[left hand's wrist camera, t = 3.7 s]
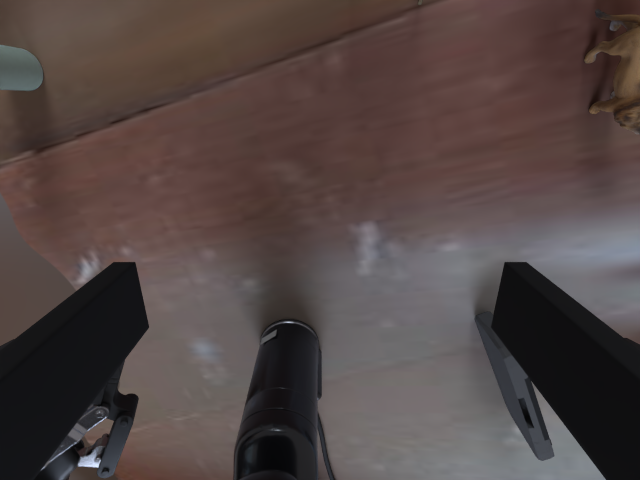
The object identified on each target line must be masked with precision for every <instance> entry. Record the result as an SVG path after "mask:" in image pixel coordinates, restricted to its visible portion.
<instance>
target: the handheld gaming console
mask: <svg viewBox="0 0 640 480" xmlns="http://www.w3.org/2000/svg"><path fill="white" fill-rule="evenodd" d="M492 320H493V314H492V313H491V312H485V313H482V314H479V315H477V316H476V317H475V321H476V324H477V327H478V330H479V333H480V335H481V338H482V341H483V344H484V346H485V349H486V352H487V354H488V357H489V360H490V363H491V365H492V368H493V371H494V373H495V376H496V379H497V382H498V384H499V387H500V390H501V393H502V395H503V398H504V401H505V403H506V406H507V408H508V410H509V412H510V414H511V416H512V418H513V420H514V421H515V423H516V425H517V426H518V428H519V430H520V431H521V433H522V434H523V436H524V438H525V439H526V441H527V443H528V444H529V446H530V448H531V449H532V451H533V453H534V454H535V456H536V457H537V458H538V459H539V460H541V461H543V460H547V459H550V458H552V457H554V452H553V449H552V443H551V440H550V438H549V435H548V432H547V429H546V426H545V423H544V420H543V417H542V414H541V411H540V407H539V404H538V401H537V398H536V395H535V392H534V389H533V386H532V383H531V380H530V378H529V377H528V376H527V374H526V373H525V372H524V370H523V369H522V368H521V366H520V365H519V364H518V363H517V361H516V360H515V359H514V357H513V356H512V355H511V353H510V352H509V351H508V349H507V348H506V347H505V345H504V344H503V343H502V341H501V340H500V339H499V337H498V336H497V335H496V333H495V332H494V331H493V329H492V328H491V324H492Z"/></svg>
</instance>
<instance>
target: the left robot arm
mask: <svg viewBox="0 0 640 480" xmlns="http://www.w3.org/2000/svg"><path fill="white" fill-rule="evenodd" d="M148 328H149V324H148V320H147V315H146V310H145V306H144V301H143V296H142V292H141V287H140V282H139V278H138V273H137V268H136V263H135V262H113V263H112V264H111V265H109V266H108V267H107V268H106V269H104V270H103V271H102V272H100V273H99V274H98V275H97V276H95V277H94V278H93V279H91V280H90V281H89V282H88V283H86V284H85V285H84V286H83V287H81V288H80V289H79V290H77V291H76V292H75V293H74V294H72V295H71V296H70V297H68V298H67V299H66V300H65V301H63V302H62V303H61V304H59V305H58V306H57V307H56V308H54V309H53V310H52V311H50V312H49V313H48V314H47V315H45V316H44V317H43V318H41V319H40V320H39V321H38V322H36V323H35V324H34V325H32V326H31V327H30V328H29V329H27V330H26V331H25V332H23V333H22V334H21V335H20V336H18V337H17V338H16V339H13V340H11V341H9V342H7V343H5V344H4V345H2V346H0V480H34V479H35V477H36V476H37V475H38V474H39V472H40V471H41V470H42V468H43V467H44V466H45V464H46V463H47V462H48V460H49V459H50V458H51V456H52V455H53V454H54V452H55V451H56V450H57V448H58V447H59V446H60V444H61V443H62V442H63V440H64V439H65V438H66V437H67V435H68V434H69V433H70V431H71V430H72V429H73V427H74V426H75V425H76V423H77V422H78V421H79V419H80V418H81V417H82V415H83V414H84V413H85V411H86V410H87V409H88V407H89V406H90V405H91V403H92V402H93V401H94V400H95V398H96V397H97V396H98V394H99V393H100V392H101V390H102V389H103V388H104V386H105V385H106V384H107V382H108V381H109V380H110V378H111V377H112V376H113V374H114V373H115V372H116V370H117V369H118V368H119V366H120V365H121V364H122V363H123V361H124V360H125V359H126V357H127V356H128V355H129V353H130V352H131V351H132V349H133V348H134V347H135V345H136V344H137V343H138V341H139V340H140V339H141V337H142V336H143V335H144V333H145V332H146V331H147V329H148ZM491 328H492V329H493V331H494V332H495V333H496V335H497V336H498V337H499V339H500V340H501V341H502V343H503V344H504V345H505V347H506V348H507V349H508V351H509V352H510V353H511V355H512V356H513V357H514V359H515V360H516V361H517V363H518V364H519V365H520V366H521V368H522V369H523V370H524V372H525V373H526V374H527V376H528V377H529V378H530V380H531V381H532V382H533V384H534V385H535V386H536V388H537V389H538V390H539V392H540V393H541V394H542V396H543V397H544V398H545V400H546V401H547V402H548V403H549V405H550V406H551V407H552V409H553V410H554V411H555V413H556V414H557V415H558V417H559V418H560V419H561V421H562V422H563V423H564V425H565V426H566V427H567V429H568V430H569V431H570V433H571V434H572V435H573V437H574V438H575V439H576V440H577V442H578V443H579V444H580V446H581V447H582V448H583V450H584V451H585V452H586V454H587V455H588V456H589V458H590V459H591V460H592V462H593V463H594V464H595V466H596V467H597V468H598V470H599V471H600V472H601V474H602V475H603V476H604V477H605V479H606V480H640V345H639V344H638V343H636V342H634V341H632V340H630V339H628V338H623V337H622V336H620V335H619V334H618V333H617V332H615V331H614V330H613V329H611V328H610V327H609V326H608V325H606V324H605V323H604V322H602V321H601V320H600V319H599V318H597V317H596V316H595V315H593V314H592V313H591V312H590V311H588V310H587V309H586V308H584V307H583V306H582V305H581V304H579V303H578V302H577V301H575V300H574V299H573V298H572V297H570V296H569V295H568V294H566V293H565V292H564V291H563V290H561V289H560V288H559V287H557V286H556V285H555V284H554V283H552V282H551V281H550V280H549V279H547V278H546V277H545V276H543V275H542V274H541V273H540V272H538V271H537V270H536V269H534V268H533V267H532V266H531V265H529V264H528V263H527V262H505V263H504V268H503V273H502V278H501V282H500V287H499V292H498V296H497V301H496V306H495V310H494V315H493V320H492V324H491Z"/></svg>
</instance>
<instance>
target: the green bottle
mask: <svg viewBox="0 0 640 480" xmlns="http://www.w3.org/2000/svg"><path fill="white" fill-rule="evenodd" d="M42 81H43V70H42V67H41V64H40V63H39V61H38V60H37V58H36V57H35V56H34V55H33V54H31V53H30V52H29V51H27V50H25V49H21V48H16V47H10V46H5V45H0V90H24V91H32V90H35V89H37V88H38V87H39V86H40V85H41V83H42Z"/></svg>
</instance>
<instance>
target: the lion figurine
mask: <svg viewBox="0 0 640 480" xmlns="http://www.w3.org/2000/svg"><path fill="white" fill-rule="evenodd" d="M595 13H596V17H598V18H600V19H604V20H612V21H611V23H610V30H612V31H617V30H618V29H619V28H620V26H621V24H622V25H623V26H624V27H625V28H626V30H627V32H625V33H623V34H622V35H620V36H618V37H617V38H615V39H614V40H612V41H609V42H606V41H602V42H600V43H599V44H598V45H597V46H596V47H595V48H593V49H592V50H591V51H589V52H588V53H587V54H586V56H585V58H584V62H585V63H587V64H588V63H592V62H594V61H595V60H596V55H597V53H599V52H605V53H608V54H610V55H620V56H621V61H620V62H619V64H618V66H617V68H616V71H615V73H614V78H613V88H614V91H613V92H612V93H611V99H610V100H608V101H598V102H596V103H594V104H593V105H592V106H591V107H590V108H589V112H590V113H591V114H596V113H598V112H599V111H600V110H602V111H606V112H614V119H615V121H616V122H617V123H620V126H621V127H622V128H625V129H628V130H629V131H632V132H634V133H636V134H640V15H610V14H606V13H604V12H601V11H600V10H599V9H597V10H596V11H595Z"/></svg>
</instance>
